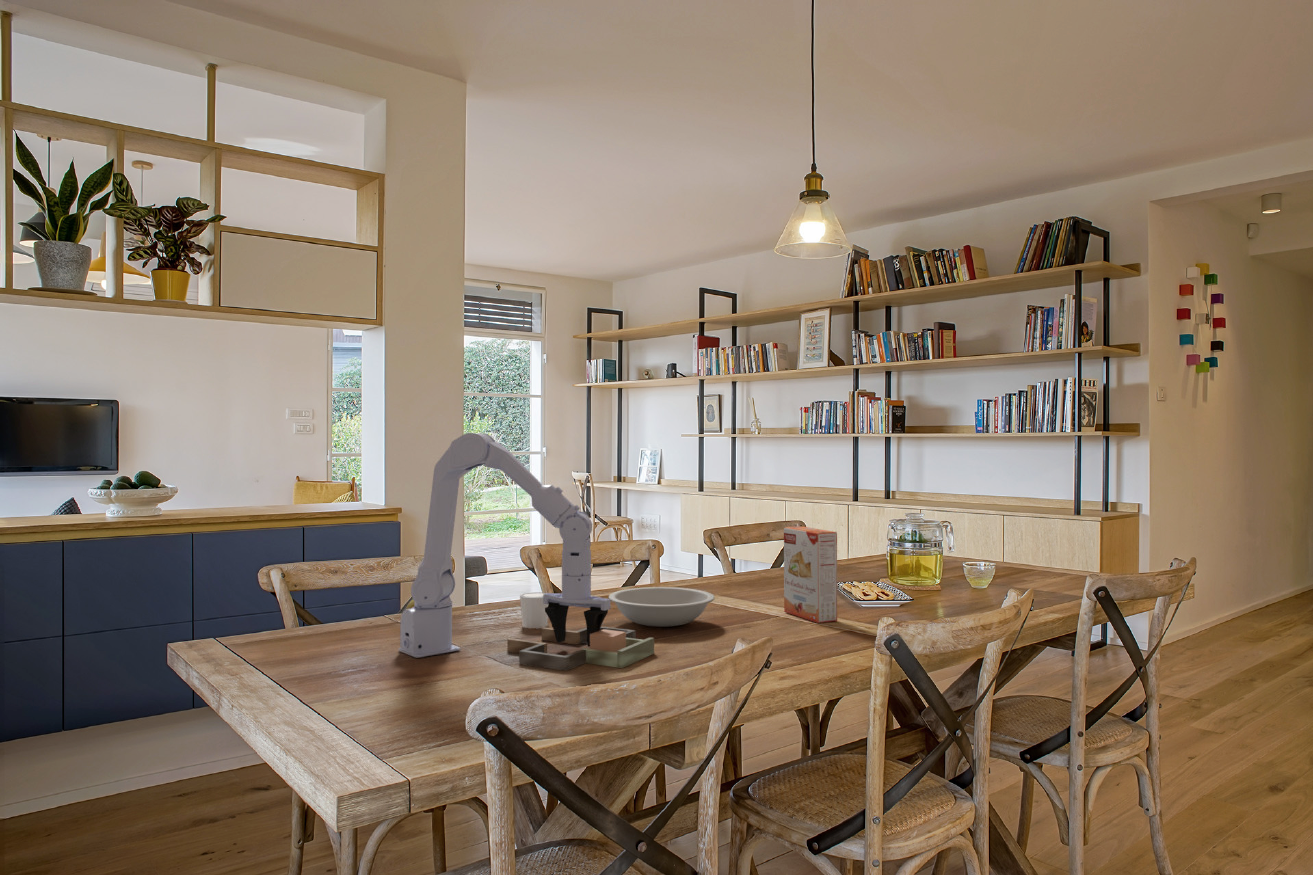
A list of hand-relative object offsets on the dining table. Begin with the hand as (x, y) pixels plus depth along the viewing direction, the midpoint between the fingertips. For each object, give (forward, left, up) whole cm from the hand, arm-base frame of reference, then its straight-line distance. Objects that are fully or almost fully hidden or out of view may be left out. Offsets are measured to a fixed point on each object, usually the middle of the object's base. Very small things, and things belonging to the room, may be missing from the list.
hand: (576, 643), depth 165 cm
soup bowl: (+30, +8, -2) cm, 31 cm away
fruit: (-14, +36, -2) cm, 38 cm away
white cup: (+8, +26, -2) cm, 27 cm away
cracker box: (+62, -9, -2) cm, 62 cm away
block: (+2, -7, -2) cm, 7 cm away
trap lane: (0, -1, -2) cm, 2 cm away
